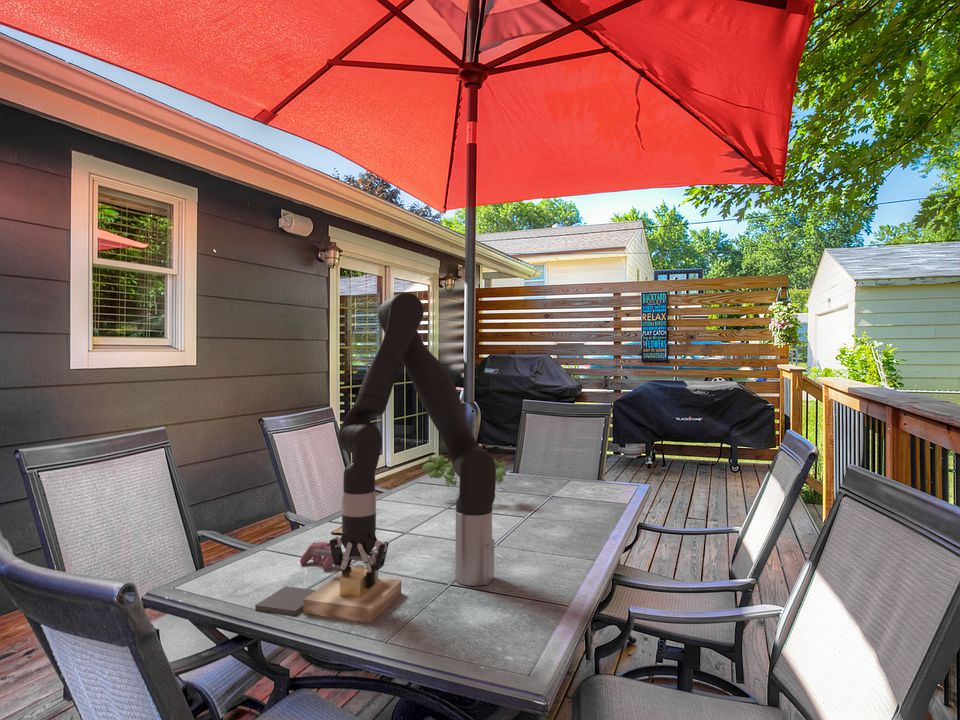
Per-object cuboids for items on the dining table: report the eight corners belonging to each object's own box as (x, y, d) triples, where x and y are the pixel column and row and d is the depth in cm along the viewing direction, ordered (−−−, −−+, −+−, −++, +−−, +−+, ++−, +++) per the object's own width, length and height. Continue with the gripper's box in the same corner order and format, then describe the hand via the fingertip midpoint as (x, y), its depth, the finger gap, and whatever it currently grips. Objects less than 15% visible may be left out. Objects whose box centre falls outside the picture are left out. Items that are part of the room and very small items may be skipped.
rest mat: (322, 595, 132) (322, 591, 132) (295, 615, 122) (295, 610, 122) (285, 590, 135) (285, 586, 135) (255, 609, 124) (255, 605, 124)
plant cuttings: (432, 510, 234) (413, 487, 217) (443, 473, 244) (425, 447, 227) (513, 519, 222) (499, 495, 205) (521, 479, 231) (508, 453, 215)
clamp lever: (380, 576, 135) (380, 552, 135) (374, 581, 132) (374, 556, 132) (317, 567, 141) (317, 544, 141) (309, 572, 138) (310, 548, 138)
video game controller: (335, 573, 150) (344, 546, 153) (324, 570, 147) (333, 543, 149) (308, 566, 155) (317, 540, 158) (297, 563, 151) (306, 537, 154)
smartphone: (373, 522, 191) (350, 534, 177) (373, 525, 191) (350, 537, 177) (354, 520, 193) (329, 532, 179) (354, 523, 193) (329, 535, 179)
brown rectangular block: (376, 584, 131) (376, 567, 131) (360, 598, 123) (360, 579, 123) (357, 582, 133) (357, 565, 133) (339, 595, 125) (339, 577, 125)
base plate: (401, 593, 134) (401, 580, 134) (370, 622, 118) (370, 608, 118) (340, 585, 138) (340, 573, 138) (303, 613, 123) (303, 599, 123)
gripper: (395, 509, 130) (394, 583, 130) (339, 504, 134) (338, 576, 134) (380, 517, 123) (380, 596, 122) (322, 512, 126) (321, 588, 126)
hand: (358, 585), depth 128 cm, fingers closed on brown rectangular block, 5 cm apart
